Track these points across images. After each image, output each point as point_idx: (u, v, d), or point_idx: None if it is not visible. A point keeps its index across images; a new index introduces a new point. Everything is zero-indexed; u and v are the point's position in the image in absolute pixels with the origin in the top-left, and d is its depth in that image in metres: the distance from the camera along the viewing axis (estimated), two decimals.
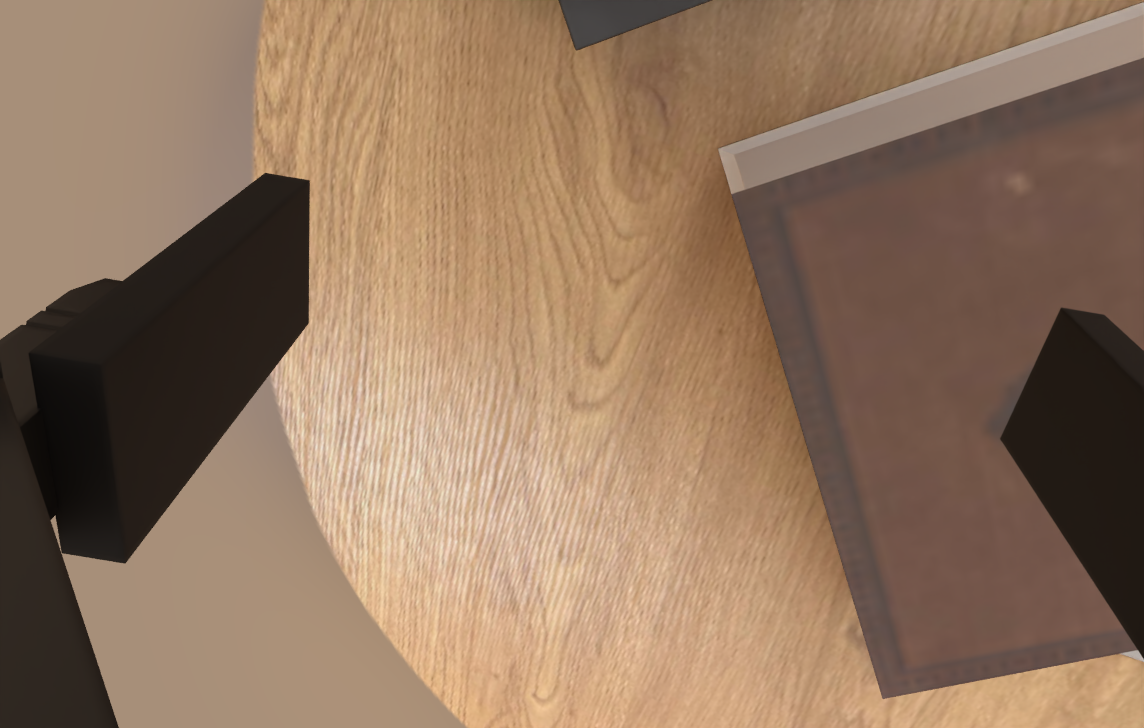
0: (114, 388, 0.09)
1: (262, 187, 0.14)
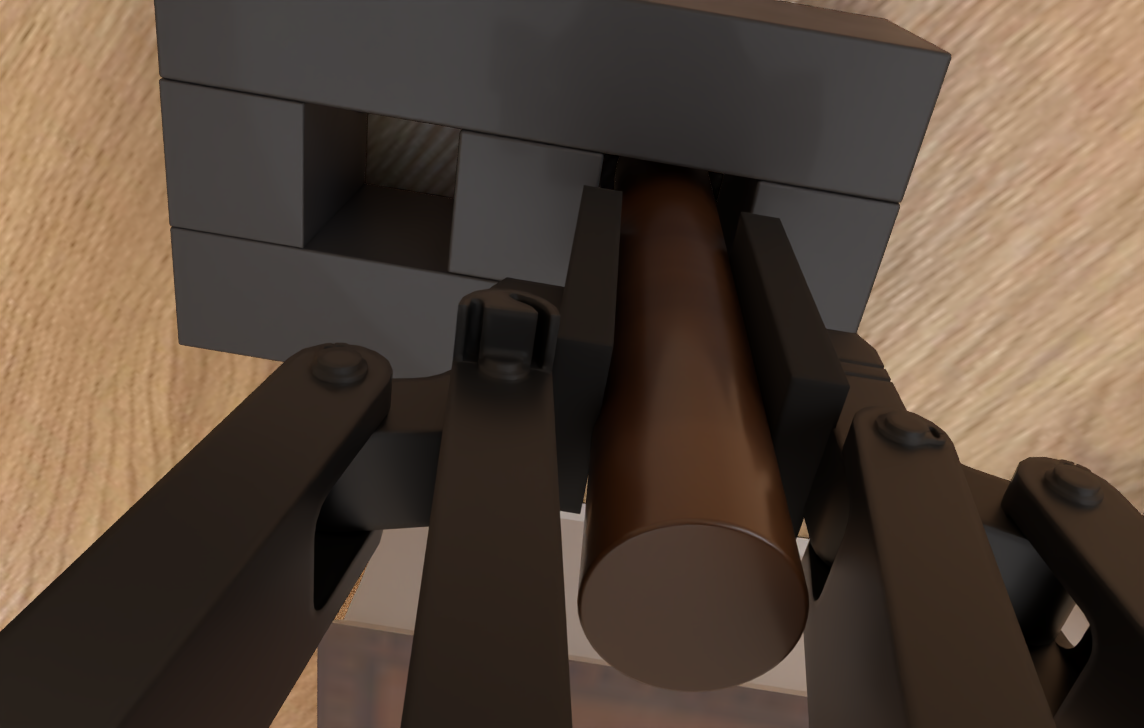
0: None
1: (593, 197, 0.16)
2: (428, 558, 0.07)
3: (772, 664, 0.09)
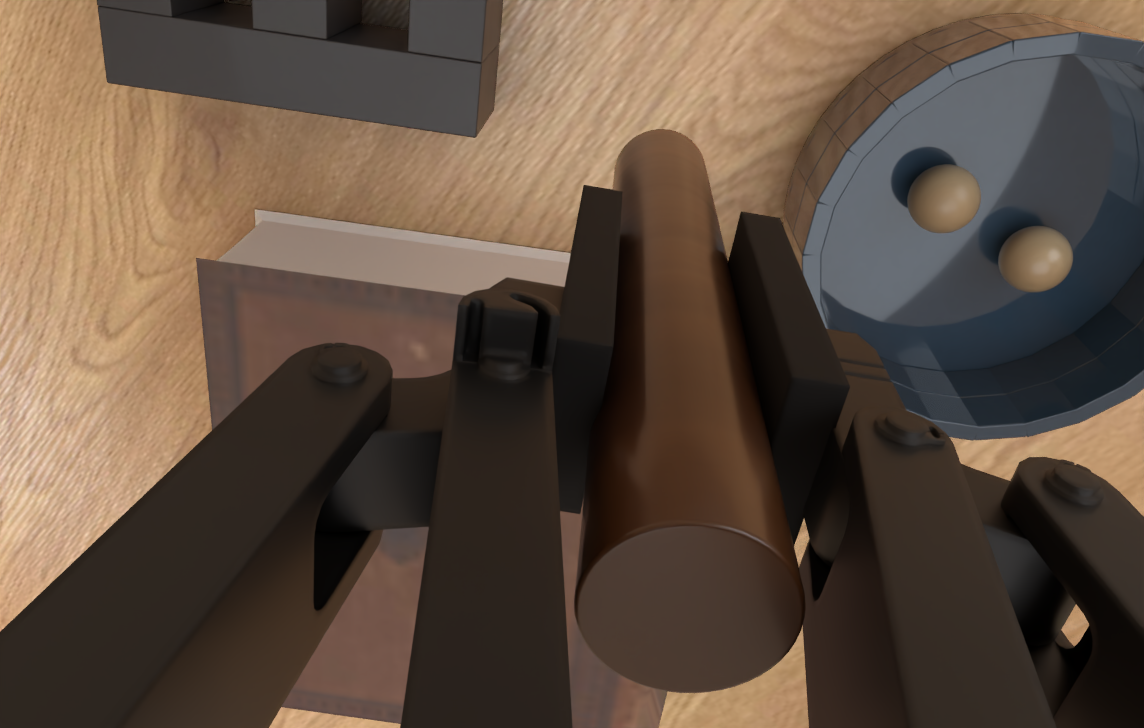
0: None
1: (593, 198, 0.16)
2: (428, 558, 0.07)
3: (768, 665, 0.09)
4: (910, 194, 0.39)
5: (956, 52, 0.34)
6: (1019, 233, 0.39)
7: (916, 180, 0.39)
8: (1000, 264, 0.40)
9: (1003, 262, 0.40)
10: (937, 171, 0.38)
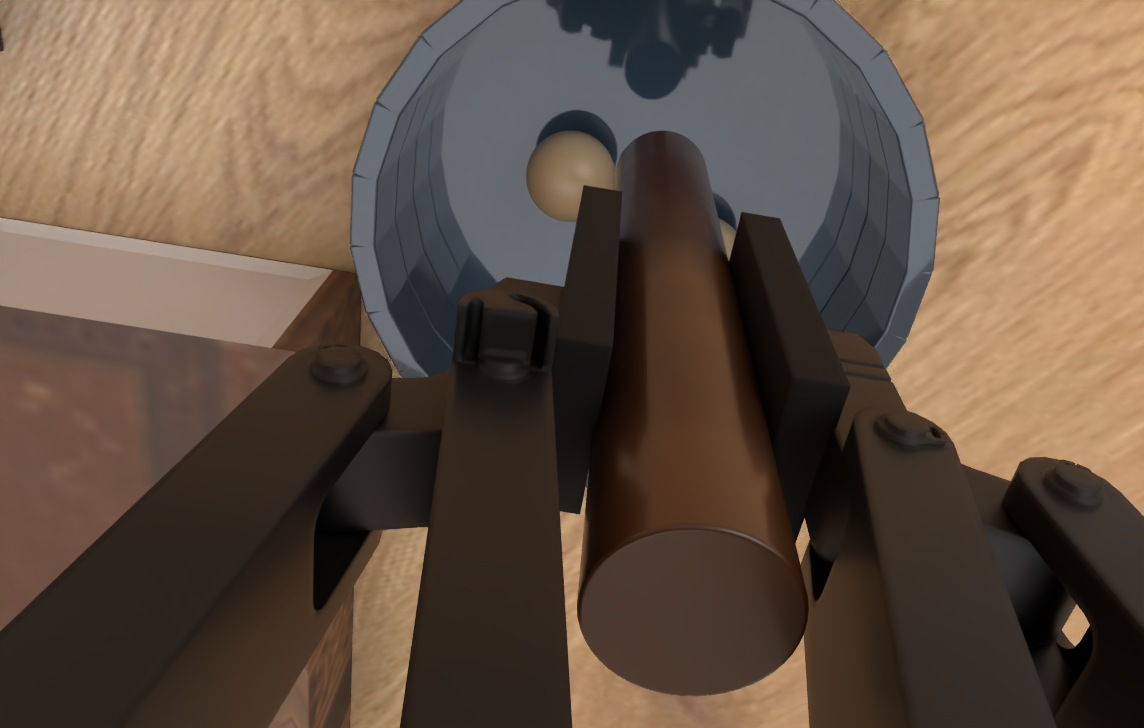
0: None
1: (592, 197, 0.16)
2: (428, 558, 0.07)
3: (772, 669, 0.09)
4: (526, 169, 0.29)
5: None
6: None
7: (533, 151, 0.29)
8: None
9: None
10: (552, 139, 0.29)
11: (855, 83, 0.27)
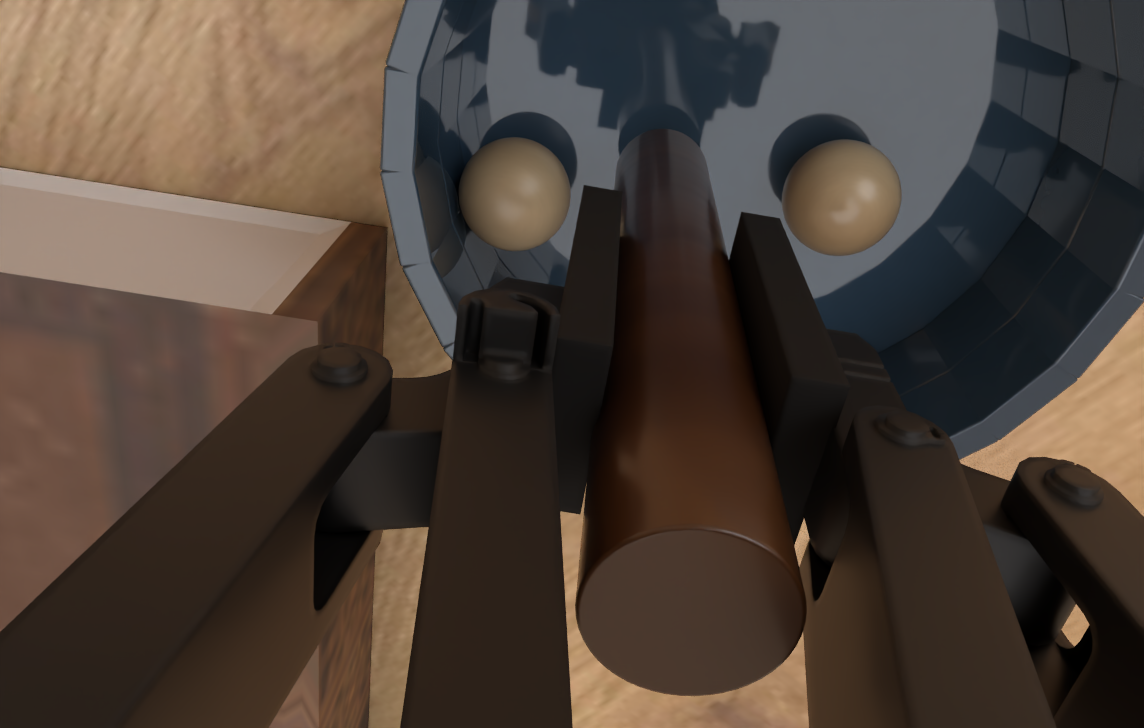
0: None
1: (593, 197, 0.16)
2: (428, 558, 0.07)
3: (770, 668, 0.09)
4: (523, 141, 0.23)
5: None
6: (811, 151, 0.23)
7: (498, 144, 0.23)
8: (782, 206, 0.23)
9: (784, 203, 0.23)
10: None
11: None
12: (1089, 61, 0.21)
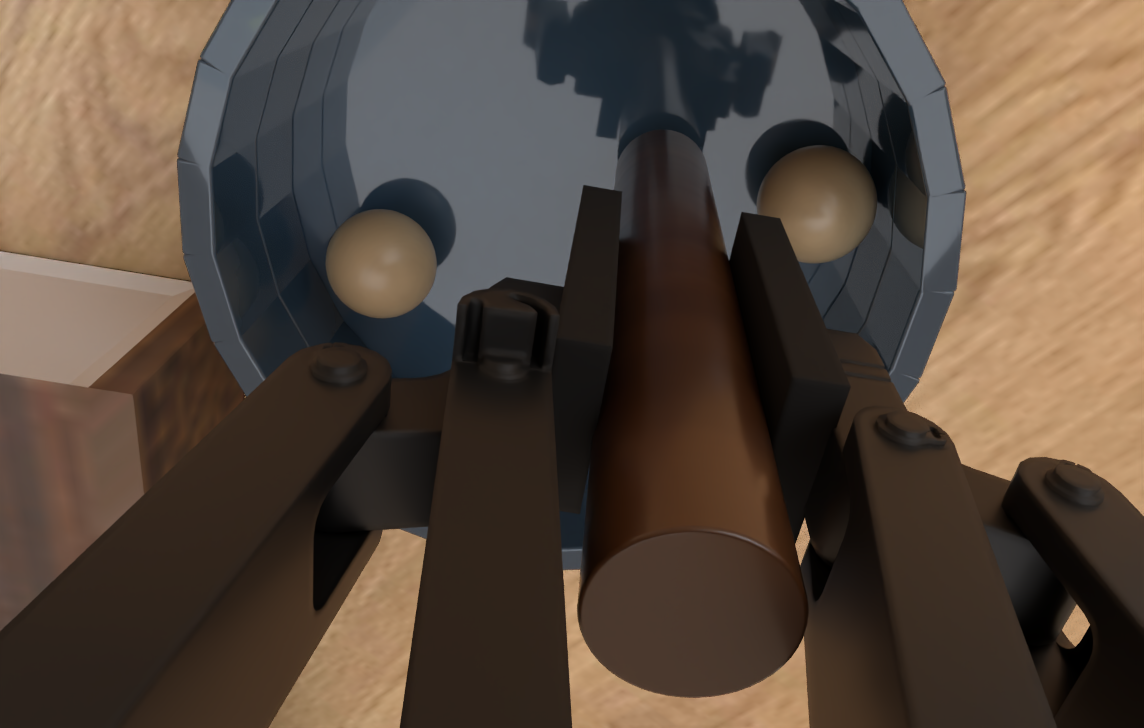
0: None
1: (592, 197, 0.16)
2: (427, 558, 0.07)
3: (770, 670, 0.09)
4: (388, 211, 0.24)
5: None
6: (809, 149, 0.22)
7: (369, 218, 0.23)
8: (867, 170, 0.22)
9: (862, 163, 0.22)
10: (338, 232, 0.24)
11: (852, 41, 0.20)
12: (880, 146, 0.22)
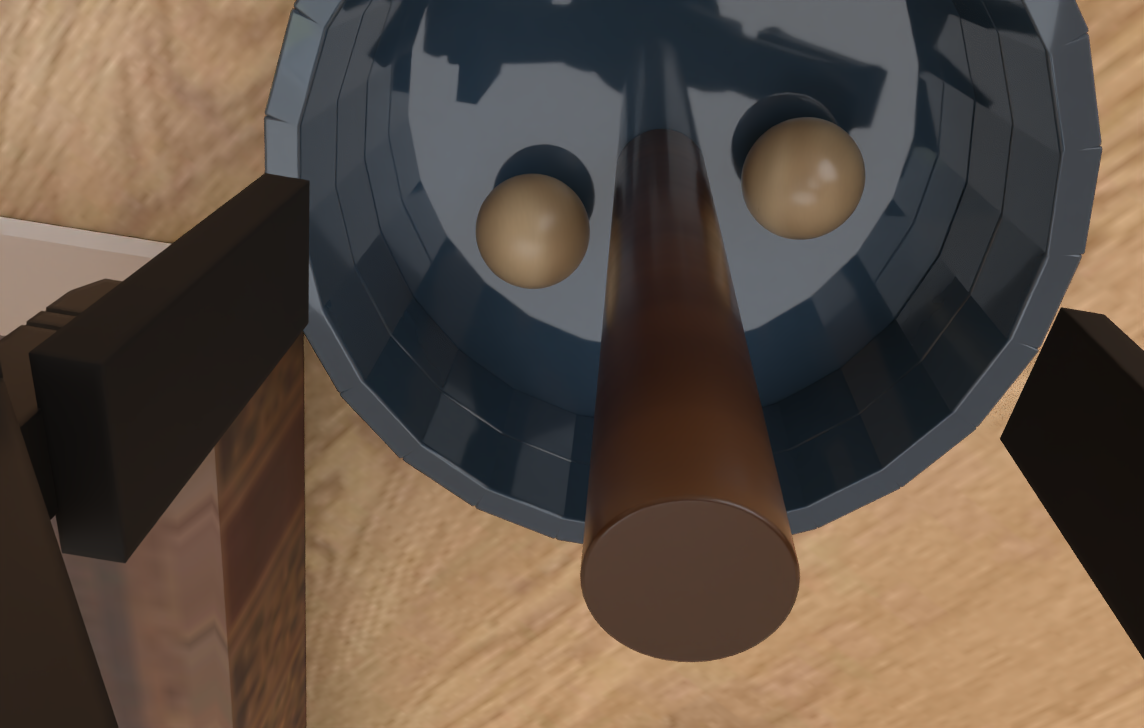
0: (114, 388, 0.09)
1: (262, 187, 0.14)
2: None
3: (764, 634, 0.10)
4: None
5: None
6: (801, 117, 0.22)
7: (542, 178, 0.22)
8: (785, 159, 0.21)
9: (797, 153, 0.21)
10: (530, 203, 0.22)
11: None
12: (989, 106, 0.21)
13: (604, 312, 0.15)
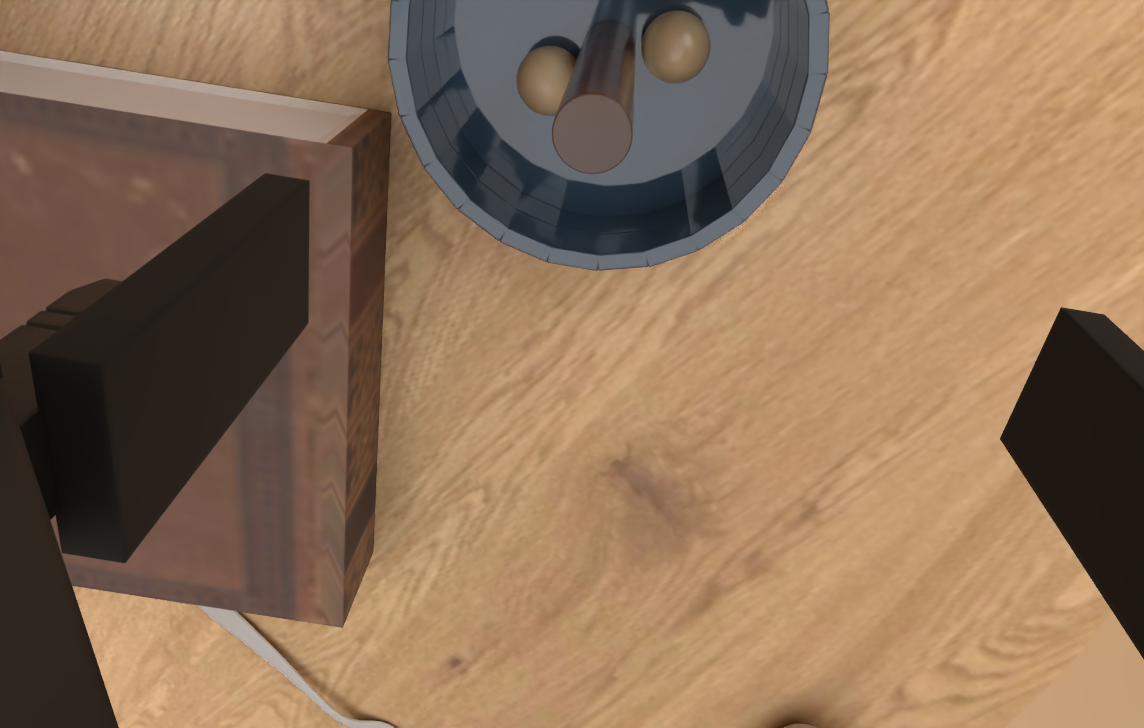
0: (114, 388, 0.09)
1: (262, 187, 0.14)
2: None
3: (621, 157, 0.26)
4: (543, 46, 0.39)
5: None
6: None
7: (555, 46, 0.39)
8: (653, 31, 0.37)
9: (659, 28, 0.37)
10: (559, 59, 0.38)
11: None
12: (791, 2, 0.38)
13: None
